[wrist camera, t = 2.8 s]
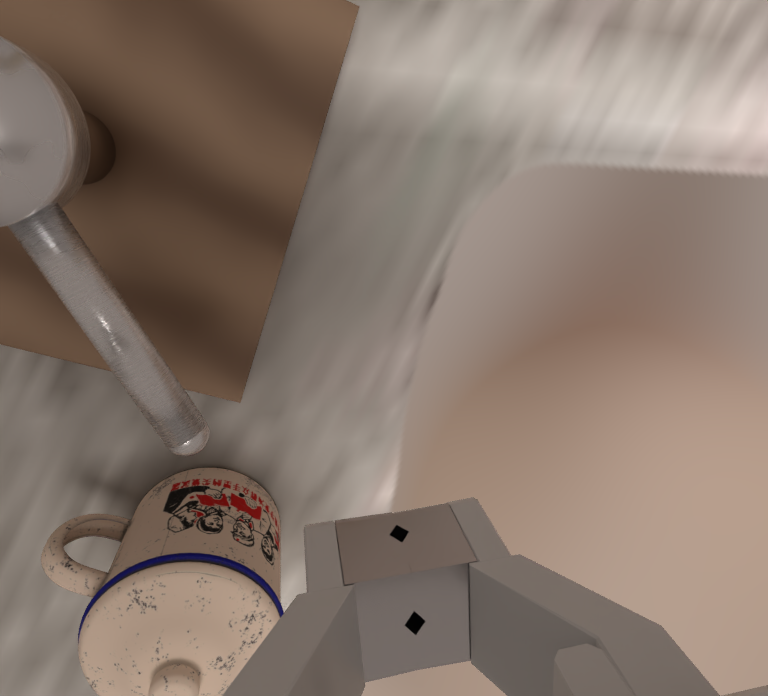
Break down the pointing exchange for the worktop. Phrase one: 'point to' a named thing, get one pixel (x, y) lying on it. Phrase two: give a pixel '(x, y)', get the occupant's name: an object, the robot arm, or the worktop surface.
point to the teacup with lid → (176, 586)
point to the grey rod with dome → (77, 238)
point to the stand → (180, 167)
